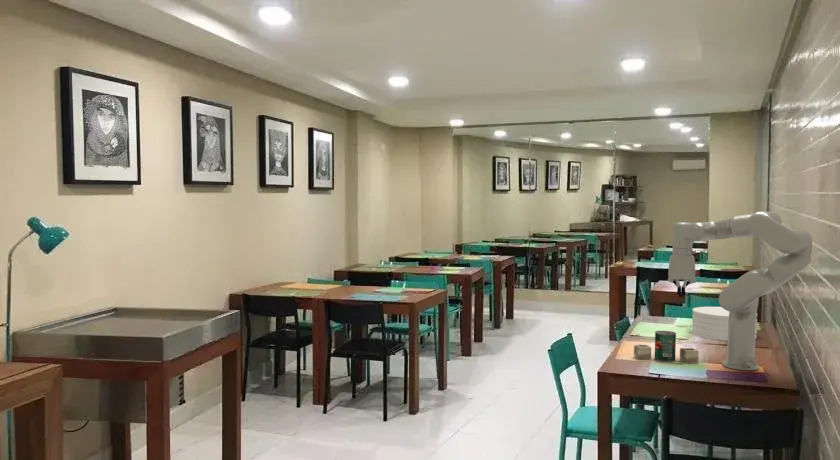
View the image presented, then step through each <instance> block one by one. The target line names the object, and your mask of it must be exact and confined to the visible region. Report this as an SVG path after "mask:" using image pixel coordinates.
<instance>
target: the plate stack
mask: <svg viewBox="0 0 840 460" xmlns="http://www.w3.org/2000/svg"><path fill="white" fill-rule="evenodd" d="M728 317H729V311H727V310H725V309H723V308H722V307H721V306H700V307H699V306H697V307H693V308H692V319H691V322H692V325H691V326H692V327H691V329H692V330H691V333H692V334H693V335H695V336H698V337H701V338H704V339H711V340H717V341H718V340H719V341H727V342H728ZM757 317H758V313H756V328H755V340H756V339H757V334H758V333H757V332H758V330H757V328H758V324H757V322H758V318H757Z"/></svg>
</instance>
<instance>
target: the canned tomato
mask: <svg viewBox="0 0 840 460" xmlns="http://www.w3.org/2000/svg"><path fill="white" fill-rule="evenodd" d="M676 343H677V332H676V331H675V332H674V331H672V330H671V331H669V330H656V331H654V360H655V361H657V360H658V362H662V363H673V361H674V362H675V361H676V349H677V348H676V346H677V345H676Z"/></svg>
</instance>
